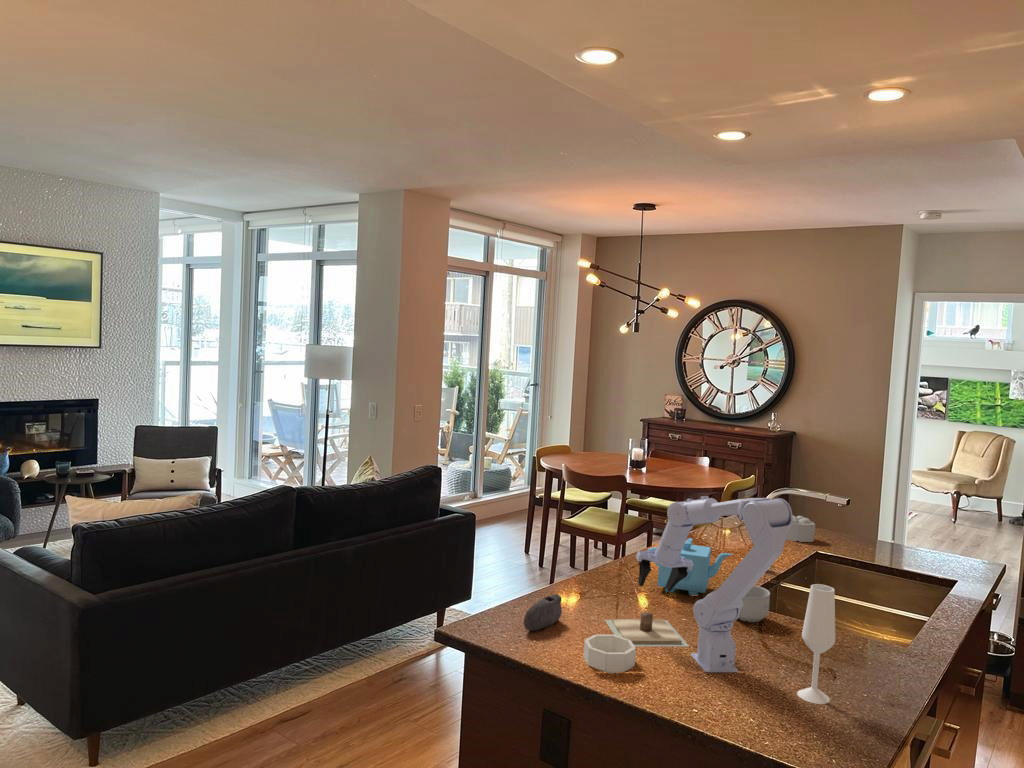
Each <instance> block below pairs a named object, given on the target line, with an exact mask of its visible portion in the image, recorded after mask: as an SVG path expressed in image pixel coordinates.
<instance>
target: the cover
mask: <svg viewBox="0 0 1024 768" xmlns="http://www.w3.org/2000/svg"><path fill="white" fill-rule="evenodd" d="M611 620H612V623H613V625H614V626H615V628H616V629H617V631H618V632H619V633H620V635H621V636H622V637H623V638H626V639H629V640H631V642H632V643H633V644H682V640H681V639H680V638H679V637H678V636H677V635H676V633H675V632H674V631H673V630H672V629H671V628H670V626H669V625H668V624H667V623H666V622H665V621H664V620H665V619H659V618H658V619H655V618H654V615H653V613H652V612H648V611H642V612H640V619H636V618H635V619H633V618H631V619H630V618H629V619H628V618H626V619H625V618H624V619H623V618H621V619H619V618H611Z"/></svg>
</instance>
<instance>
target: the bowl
mask: <svg viewBox="0 0 1024 768" xmlns="http://www.w3.org/2000/svg"><path fill="white" fill-rule="evenodd" d="M636 651H637V646H634V644H633V643H632V642H631V640H629V639H626V638H623V637H619V636H616V635H614V634H593V635H591V636H589V637H587V638H586V639H584V645H583V658H584V660H585V663H586V664H587V666H588V667H591V668H592V669H596V670H599V671H602V672H601V673H604V672H608V673H607V674H614V673H616V674H620V673H619V672H624V673H626V672H625V671H629V670H631V669H632V668H633V667H634V666H636V653H637V652H636Z"/></svg>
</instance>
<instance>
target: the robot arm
mask: <svg viewBox="0 0 1024 768" xmlns="http://www.w3.org/2000/svg"><path fill="white" fill-rule="evenodd" d="M666 513H667V515H666V516H667V523H666V525H665V528H664V530H663V533H662V535H661V538H660V540H659V543H658V545H657V547H658V548H657V550H654V551H648V550H637V552H636V555H635V558H636V560H637V562H638V567H639V571H638V581H637V583H638V586H639V587H641V588H642V587H643V586H644V584H645V582H646V580H647V577H648V576H649V573H651V571H652V568H651V565H652V564H651V563H653V564H655V563H657V564H659V565H662V566H664V567H668V568H672V570H671V574H670V576H669V579H668V581H667V584H666V587H665V589H666V588H667V590H668V591H671V590H672V588H673V587H674V586H675V585H676V584H677V583H678V582H679V581H681V580H682V579H684V578H685V577H687V575H688V572H687V570H689V571H691V570H692V567H693V562H692V560H688V559H685V558H683V557H680V553H681V551H682V549H683V546H684V544H685V541H687V539H688V538H689V535H690V534H689V533H690V532H691V530H693V529H694V528H693V527H694V526H695V525H702V524H703V525H704V524H710V523H711V524H712V523H716V522H718V520H719V519H720V518H721V517H724V516H738V518H739V520H740V521H743V523H744V526H745V528H746V531H747V533H748V536H749V539H750V541H751V543H752V544H753V546H752V547H751V548H750V550H749V551H748V552H747V554H746V555H745V556H744V557H743V558H742V560H741V561H740V562H739V563H737V566H736V567H735V568H734V569H733V570H732V572H731V573H730V574H729V575H728V576H727V577H726V579H725V580H724V581H723V582H722V583H721V585H720V586H719V587H717V589H715V590H713V591H711V592H710V593H708V594H706V596H705V597H703V598H702V599H698V600H696V601H695V603H694V604H693V608H692V612H693V617H694V620H695V621H696V623H697V624H696V625H697V626H699V627H698V640H697V652H695V653H690V656H691V657H692V658H693V659H694V661H695V662H696V664H698V666H699V667H700V668H701V669H702V670H703V672H705V673H738V672H739V671H738V670H739V669H737V667H736V666H735V661H736V651H737V647H736V643H735V640H734V639H733V636H732V627H734V622H736V621H737V620H739V619H738V617H739V613H740V610H741V608H742V607H743V605H744V604H743V602H742V599H743V597H744V596H745V595H746V594H747V593H748V592H749V591H750V589H751V588H752V587H753V586H754V585H755V586H756V584H757V582H759V580H760V579H761V578H762V577H763V576H764V574H765V573H766V572H767V571H768V570H769V569H770V568H771V566H772V565H773V564H774V563H775V561H777V560H778V558H779V557H780V556H781V555H782V553H783V551H784V548H785V543H786V541H787V540H786V536H787V532H788V530H789V528H790V527H791V526H792V525H793V523H794V521H793V516H794V514H793V511H792V507H791V506H790V504H789V503H788V501H787V500H785V499H784V498H781V497H780V498H779V497H777V498H773V499H772V498H770V497H747V498H738V499H733V500H726V501H721V502H718V500H716V499H715V498H713V497H710V498H709V495H706V496H700V499H693V498H687V499H686V500H685V501H674V502H672V503H671V504H669V505H668V507H667V512H666Z"/></svg>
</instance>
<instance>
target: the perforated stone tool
mask: <svg viewBox="0 0 1024 768" xmlns="http://www.w3.org/2000/svg"><path fill="white" fill-rule="evenodd" d="M562 609H563V608H562V596H560V595H559V594H557V593H554V594H551V595H548V596H544V597H543V598H541V599H539V600H538V601H537V602H535V603H534V604H533V605H532V606H530V607H529V608H528V610H526V613H525V615H524V619H523V625H524V628H525V629H526V630H527V631H529V632H535V631H539V630H542V629H545V628H547V627H550V626H552V625H553V624H555V623H556V622H558V621H559V620H560V618H561V615H562V612H563V610H562Z"/></svg>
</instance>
